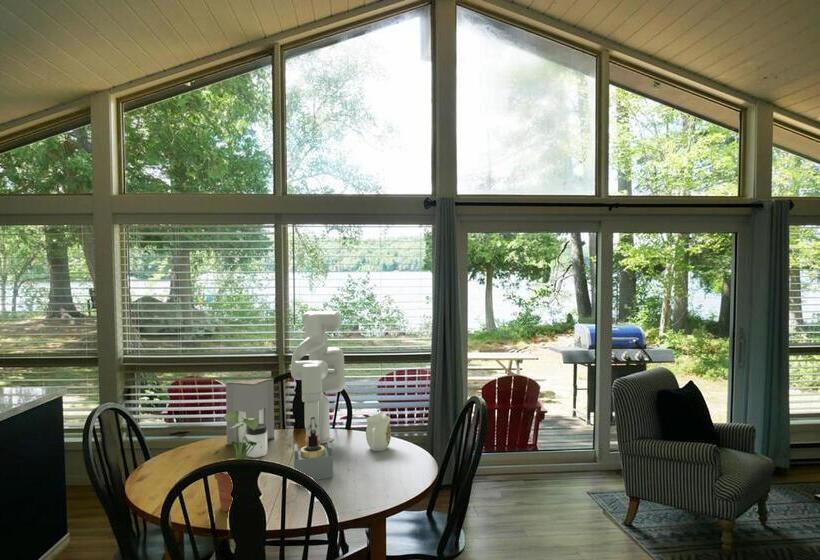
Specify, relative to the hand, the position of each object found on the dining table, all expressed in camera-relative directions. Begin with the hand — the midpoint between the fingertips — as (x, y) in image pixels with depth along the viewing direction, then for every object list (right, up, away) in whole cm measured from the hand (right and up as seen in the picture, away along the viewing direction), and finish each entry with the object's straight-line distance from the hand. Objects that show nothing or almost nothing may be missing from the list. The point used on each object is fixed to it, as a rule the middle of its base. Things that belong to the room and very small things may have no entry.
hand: (312, 443), depth 196 cm
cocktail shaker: (0, -4, 0) cm, 4 cm away
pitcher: (+23, -12, +28) cm, 38 cm away
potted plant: (-19, -13, -25) cm, 34 cm away
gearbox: (0, -12, 0) cm, 12 cm away
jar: (-28, -13, +24) cm, 39 cm away
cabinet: (-35, -13, +38) cm, 53 cm away
